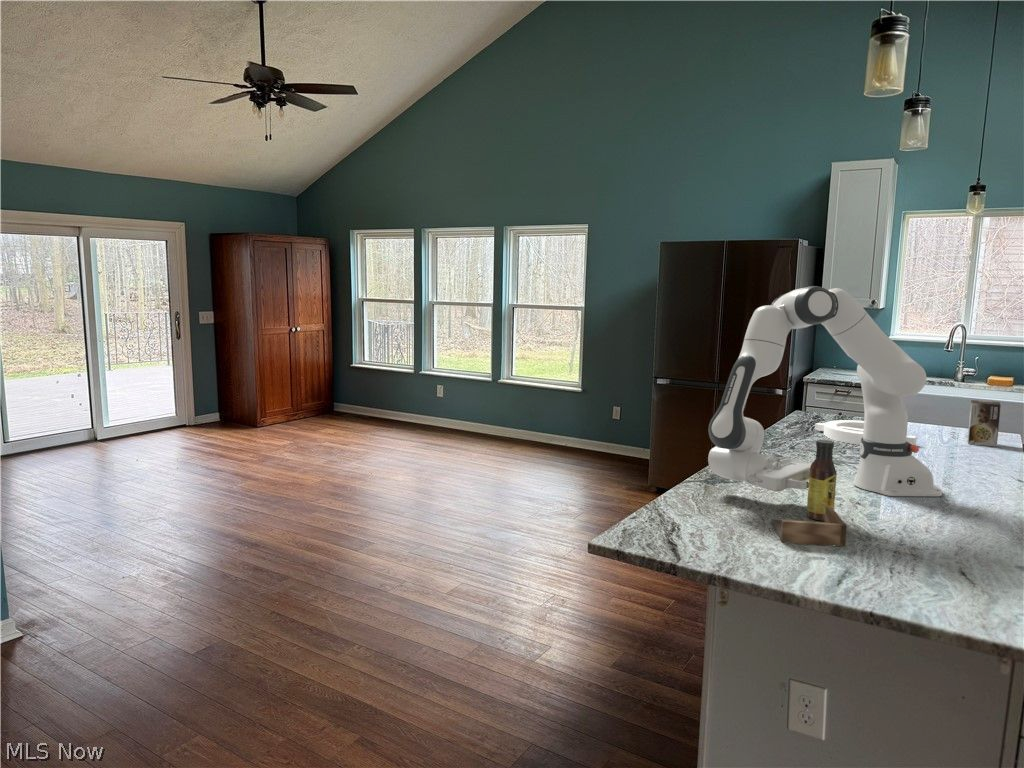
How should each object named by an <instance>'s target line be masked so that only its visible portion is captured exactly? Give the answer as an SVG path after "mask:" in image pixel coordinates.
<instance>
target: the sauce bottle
mask: <svg viewBox="0 0 1024 768" xmlns="http://www.w3.org/2000/svg"><path fill="white" fill-rule="evenodd" d="M834 442H835V441H833V440H829V439H827V440H826V439H818V440H816V443H815V447H816V451H815V452H816V453H815V460H813V461H812V463H810V464H811V468H810V476H809V480H808V482H809V487H808V488H807V505H806V511H807V513H806V515H807V516H808V518H810V519H813V520H816V521H821V522H822V521H824V522H825V509H826V506H829V507H832V509H833V510H834V511H835V501H836V488H837V487H836V486H837V485H836V484H837V473H838V472H837V470H836V468H835V463H834V459H833V451H834V447H835V443H834Z"/></svg>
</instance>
